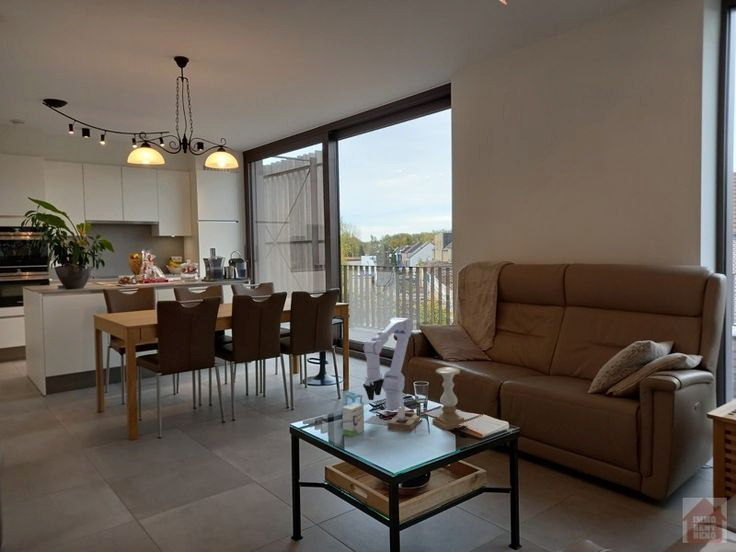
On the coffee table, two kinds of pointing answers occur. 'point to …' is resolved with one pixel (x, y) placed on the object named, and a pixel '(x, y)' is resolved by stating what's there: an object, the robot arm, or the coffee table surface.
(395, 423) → the block
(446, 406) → the candle holder
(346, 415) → the ink box
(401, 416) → the peg
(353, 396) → the chair
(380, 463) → the coffee table surface
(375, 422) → the mat
